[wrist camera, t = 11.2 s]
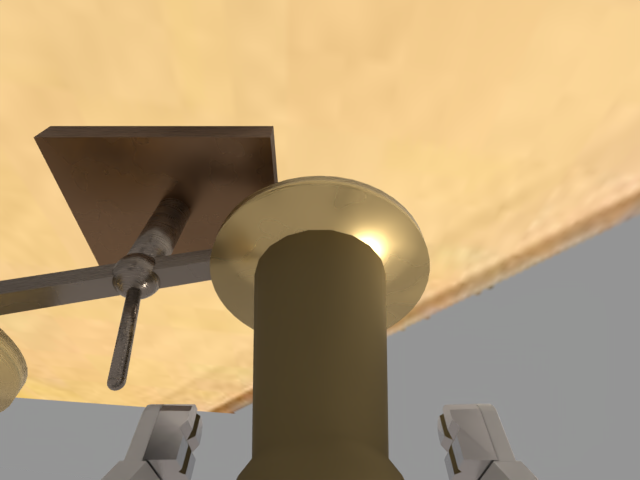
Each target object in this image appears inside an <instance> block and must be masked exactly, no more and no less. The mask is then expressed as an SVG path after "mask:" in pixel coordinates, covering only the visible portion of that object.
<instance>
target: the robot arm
mask: <svg viewBox="0 0 640 480" xmlns="http://www.w3.org/2000/svg"><path fill="white" fill-rule="evenodd" d="M197 410H198V409H197V407H196V405H195V404H150V405H147V406H146V408H145V409H144V411H143V413H142V415H141V418H140V420H139V423H138V426H137V428H136V431H135V433H134V436H133V439H132V441H131V444H130V446H129V449H128V452H127V454H126V457H125V459H124V461H119V462H118V463H117V464H116V465H115V466H114V467H113V468H112V469H111V470H110V471H109V472H108V473H107V474H106V475H105V476H104V477H103V478H102V479H101V480H191V477H192V473H193V469H194V465H195V461H196V459H195V456H194V454H193V451H194V450H195V449H196V448H197V447H198V446H199V445H200V440H201V436H202V426H203V425H202V418H201V416H200V415H198V414H197ZM442 410H443V414H442V415H440V416H439V419H438V436H439V440H440V445H441V446H442V447H443V448H444V449H445V450H446V451H447V454H446V456H445V459H444V461H445V465H446V469H447V473H448V477H449V480H539V479H538V478H537V477H536V476H535V475H534V474H533V473H532V472H531V471H530V470H529V469H528V468H527V467H526V466H525V465H524V464H523V463H522V462H521V461H516V459H515V457H514V454H513V452H512V449H511V447H510V444H509V441H508V439H507V436H506V434H505V431H504V429H503V426H502V423H501V421H500V418H499V416H498V413H497V410H496V409H495V407H494V406H493V405H491V404H454V405H444V407H443V409H442Z"/></svg>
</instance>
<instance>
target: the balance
mask: <svg viewBox="0 0 640 480" xmlns="http://www.w3.org/2000/svg"><path fill="white" fill-rule="evenodd" d="M33 138H34V139H35V141H36V143H37V145H38V147H39V149H40V151H41V153H42V155H43V157H44V159H45V161H46V163H47V165H48V167H49V169H50V171H51V173H52V175H53V177H54V179H55V180H56V182H57V184H58V186H59V188H60V190H61V192H62V194H63V196H64V198H65V200H66V202H67V204H68V206H69V208H70V210H71V212H72V214H73V216H74V218H75V220H76V222H77V223H78V225H79V227H80V229H81V231H82V233H83V235H84V237H85V239H86V241H87V243H88V245H89V247H90V249H91V251H92V253H93V255H94V257H95V259H96V261H97V263H98V265H99V266H94V267H88V268H81V269H75V270H68V271H62V272H55V273H48V274H42V275H35V276H29V277H22V278H15V279H9V280H2V281H0V315H5V314H11V313H17V312H23V311H29V310H35V309H41V308H47V307H53V306H59V305H65V304H71V303H77V302H83V301H89V300H95V299H101V298H107V297H113V296H119V295H121V296H123V297H125V303H124V307H123V312H122V316H121V321H120V325H119V330H118V334H117V339H116V343H115V348H114V352H113V357H112V362H111V366H110V371H109V375H108V380H107V386H108V388H109V389H110V390H113V391H117V390H120V389H122V388H123V387H124V386H125V384H126V380H127V374H128V368H129V363H130V357H131V351H132V346H133V340H134V334H135V329H136V323H137V317H138V312H139V306H140V301H141V299H145V298H148V297H150V296H152V295H153V294H154V293H156V292H157V291H158V289H161V288H167V287H173V286H179V285H185V284H191V283H197V282H203V281H208V280H211V281H212V283H213V286H214V289H215V291H216V293H217V295H218V297H219V299H220V300H221V302H222V303H223V304H224V306H225V307H226V308H227V309H228V310H229V311H230V312H231V313H232V314H233V315H234V316H235V317H236V318H237V319H238V320H240V321H241V322H242V323H244V324H245V325H247V326H248V327H250V328H252V329H253V330H254V274H255V271H256V267H257V264H258V260H259V259H260V257H261V256H262V255H263V254H264V252H265V251H266V250H267V249H268V248H269V246H271V245H272V244H274V243H276V242H277V241H279V240H281V239H282V238H284V237H286V236H288V235H291V234H295V233H299V232H303V231H307V230H334V231H337V232H341V233H345V234H349V235H353V236H355V237H356V238H358V239H360V240H361V241H363V242H365V243H366V244H368V245H370V246H371V247H372V249H373V250H374V251H375V252H376V253H377V254H378V256H379V257H380V258H381V260H382V263H383V266H384V269H385V273H386V317H387V329H388V328H390V327H391V326H393V325H394V324H396V323H397V322H399V321H400V320H401V319H402V318H404V317H405V316H406V315H407V314H408V313H409V312H410V311H411V310H412V309H413V308H414V307H415V305H416V304H417V303H418V301H419V300H420V298H421V296H422V294H423V293H424V291H425V288H426V285H427V282H428V279H429V273H430V259H429V254H428V249H427V246H426V243H425V240H424V238H423V235H422V233H421V230H420V228H419V226H418V224H417V222H416V221H415V219H414V218H413V216H412V215H411V214H410V213H409V212H408V210H407V209H406V208H405V207H404V206H403V205H402V204H400V203H399V202H398V201H397V200H396V199H394V198H393V197H391V196H390V195H388V194H387V193H385V192H383V191H382V190H380V189H377V188H375V187H373V186H371V185H368V184H366V183H362V182H359V181H356V180H352V179H347V178H341V177H334V176H306V177H299V178H293V179H287V180H284V181H281V182H278V176H277V164H276V152H275V140H274V127H273V126H50V127H48V128H47V129H45V130H44V131H42V132H41V133H39V134H38V135H36V136H35V137H33ZM27 376H28V368H27V364H26V361H25V358H24V357H23V355H22V353H21V351H20V349H19V348H18V347H17V346H16V344H15V343H14V342H13V340H12V339H11V338H10V337H9V336H8V335H7V334H6V333H5V332H4V331H3V330H2V329H1V328H0V412H2V411H4V410H5V409H6V408H8V407H9V406H10V405H11V403H12V402H13V400H14V399H15V397H16V396H17V395H18V393H19V392H20V390H21V389H22V387H23V386H24V384H25V383H26V380H27Z"/></svg>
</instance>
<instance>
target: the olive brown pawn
mask: <svg viewBox="0 0 640 480" xmlns="http://www.w3.org/2000/svg"><path fill="white" fill-rule="evenodd" d="M236 480H404V478H403V476H402V474H401V473H400V472H399V471H398V469H397V468H396V467H395V466H394V464H393V463H392V462H391V461H390V459H389V442H388V379H387V317H386V273H385V269H384V266H383V263H382V260H381V258H380V257H379V256H378V254H377V253H376V252H375V251H374V250H373V249H372V247H371V246H370V245H368V244H366V243H365V242H363V241H361V240H360V239H358V238H356V237H355V236H353V235H349V234H345V233H341V232H337V231H334V230H307V231H303V232H299V233H295V234H291V235H288V236H286V237H284V238H282V239H281V240H279V241H277V242H276V243H274V244H272V245H271V246H269V248H268V249H267V250H266V251H265V252H264V254H263V255H262V256H261V257H260V259H259V260H258V264H257V267H256V271H255V274H254V341H253V412H252V459H251V460H250V461H249V463H248V464H247V465H246V466H245V468H244V469H243V470H242V471H241V473H240V474H239V475H238V477H237V479H236Z"/></svg>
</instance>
